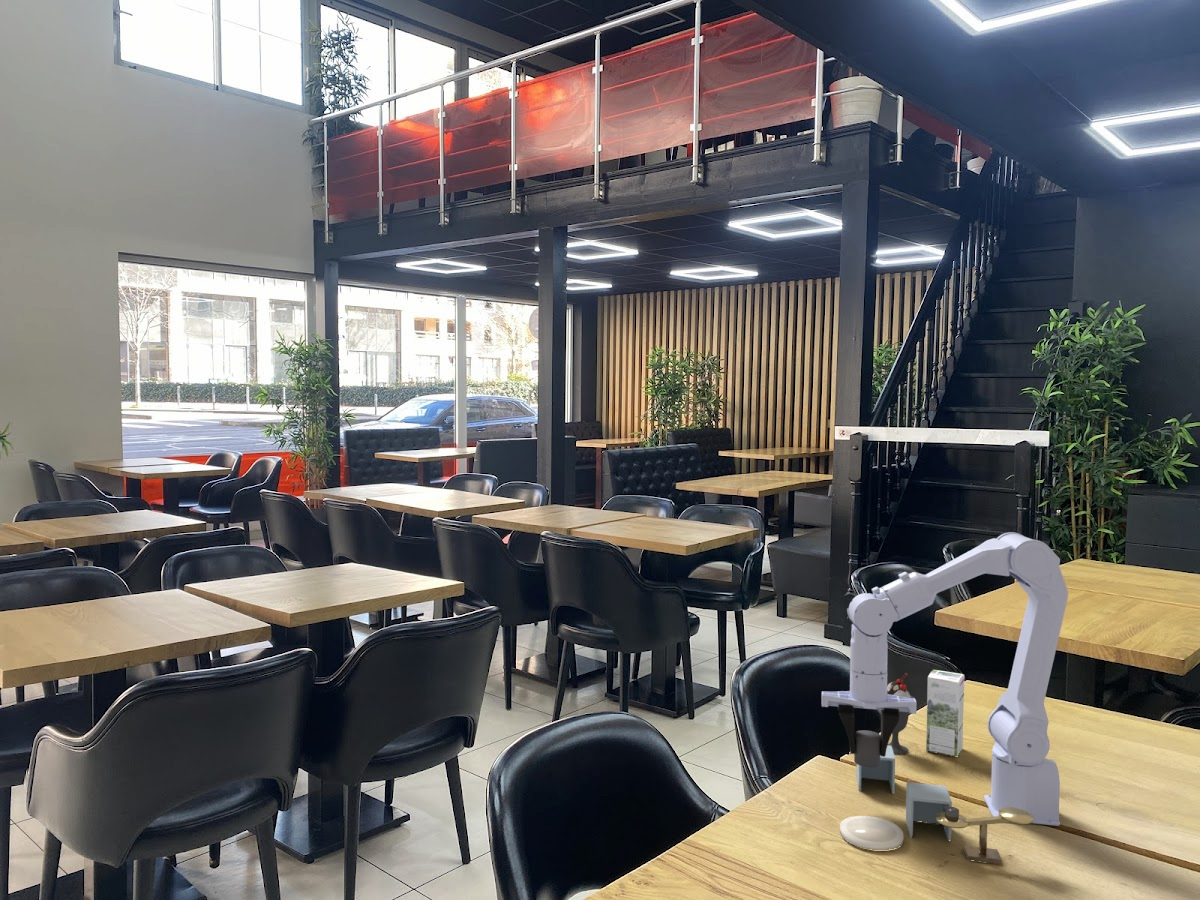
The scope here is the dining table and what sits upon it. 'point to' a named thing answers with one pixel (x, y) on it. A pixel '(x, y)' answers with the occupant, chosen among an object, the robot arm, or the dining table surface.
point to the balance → (983, 829)
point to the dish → (871, 833)
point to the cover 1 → (879, 770)
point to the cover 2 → (926, 804)
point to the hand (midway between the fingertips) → (867, 752)
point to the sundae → (899, 690)
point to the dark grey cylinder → (867, 748)
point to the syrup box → (945, 712)
